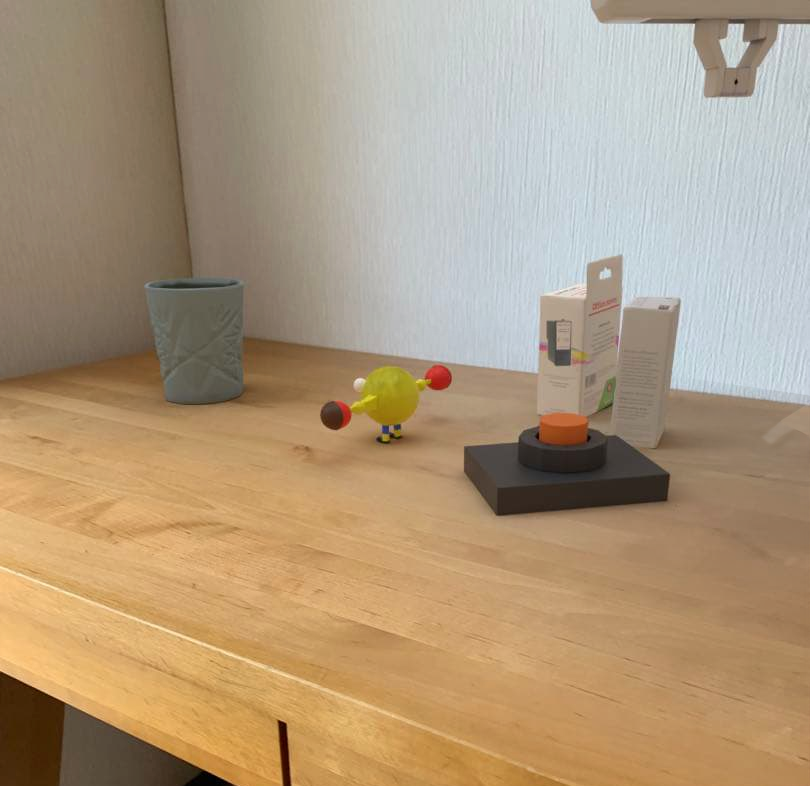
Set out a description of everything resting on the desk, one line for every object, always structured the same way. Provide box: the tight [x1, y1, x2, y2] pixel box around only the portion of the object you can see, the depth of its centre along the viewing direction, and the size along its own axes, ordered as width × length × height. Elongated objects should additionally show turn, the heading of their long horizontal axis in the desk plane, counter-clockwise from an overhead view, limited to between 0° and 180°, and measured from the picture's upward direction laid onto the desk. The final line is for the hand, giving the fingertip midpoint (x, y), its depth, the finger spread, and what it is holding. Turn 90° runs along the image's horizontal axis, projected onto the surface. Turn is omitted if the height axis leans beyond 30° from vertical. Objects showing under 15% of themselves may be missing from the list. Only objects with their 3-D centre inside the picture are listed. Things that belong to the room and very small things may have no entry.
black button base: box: [463, 425, 671, 517], centre depth 67 cm, size 13×10×4 cm
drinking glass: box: [143, 277, 245, 405], centre depth 95 cm, size 10×10×12 cm
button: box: [539, 413, 589, 445], centre depth 66 cm, size 4×4×2 cm
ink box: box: [536, 253, 624, 418], centre depth 85 cm, size 9×5×15 cm, turn 144°
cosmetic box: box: [609, 296, 682, 450], centre depth 76 cm, size 6×4×12 cm
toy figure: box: [319, 364, 453, 445], centre depth 79 cm, size 18×6×7 cm, turn 145°
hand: (728, 97), depth 62 cm, fingers closed
